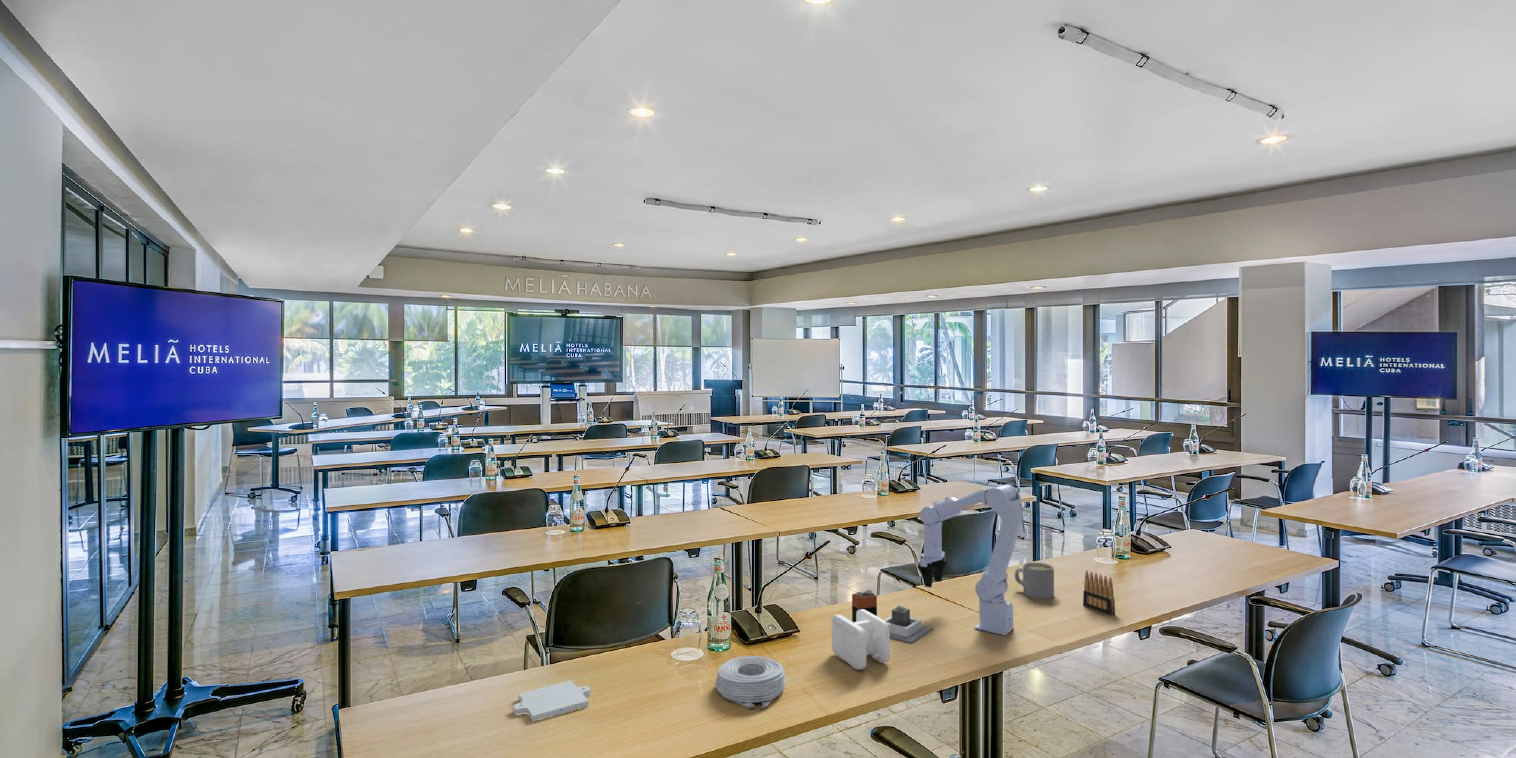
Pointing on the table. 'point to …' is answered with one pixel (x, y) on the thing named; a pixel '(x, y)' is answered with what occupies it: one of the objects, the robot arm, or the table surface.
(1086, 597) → the ammunition clip
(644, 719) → the table surface
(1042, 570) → the coffee mug
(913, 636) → the end holder
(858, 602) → the battery
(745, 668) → the cable
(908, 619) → the block
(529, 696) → the mounting plate
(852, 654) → the cable organizer
